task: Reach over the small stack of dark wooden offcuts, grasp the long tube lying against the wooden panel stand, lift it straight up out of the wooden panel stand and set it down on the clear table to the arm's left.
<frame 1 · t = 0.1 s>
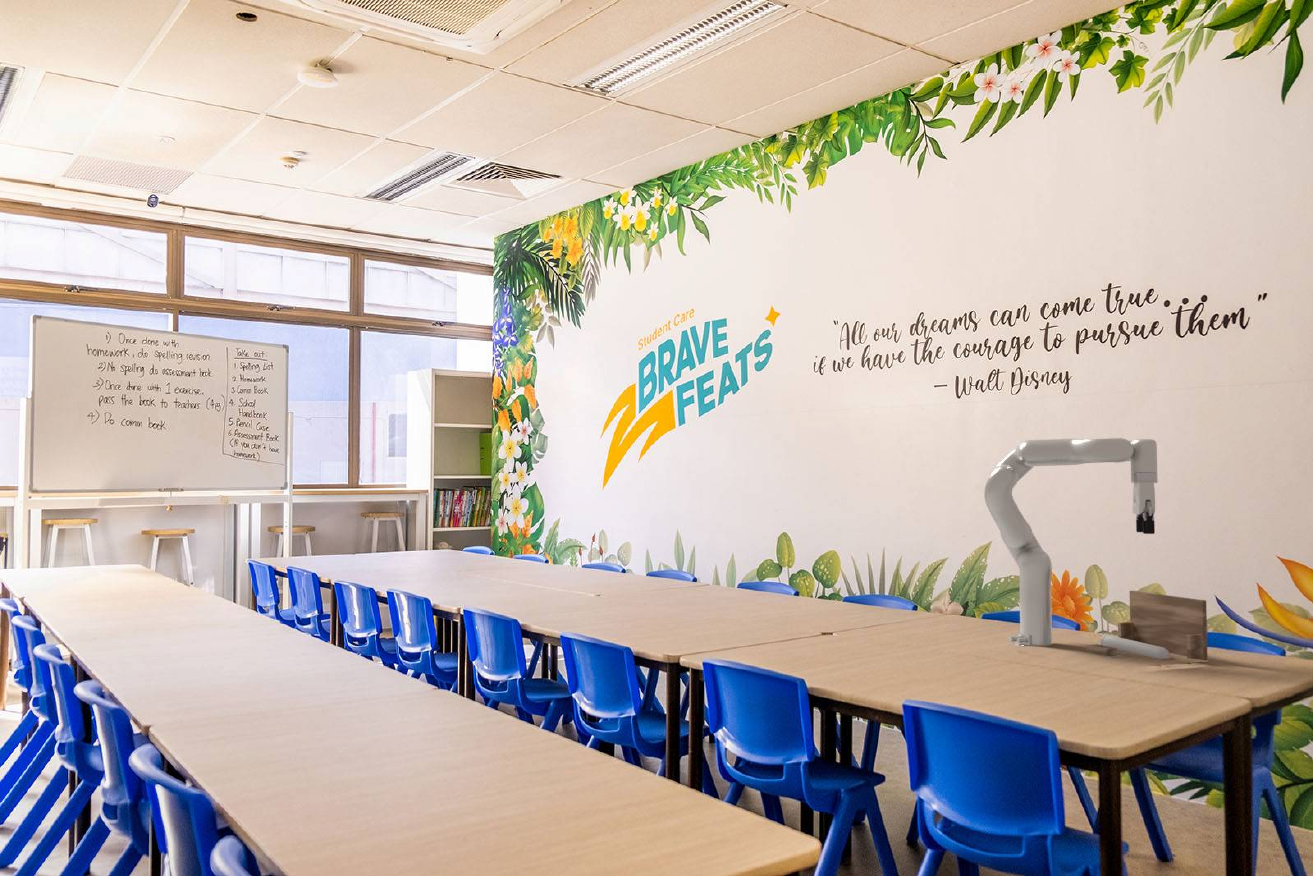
hand: (1145, 533, 316), 37 cm above the table, tool pointing down, fingers open, 9 cm apart
wooden panel stand: (1167, 654, 311), on the table
offcut top: (1102, 653, 304), point 1 cm above the table, touching offcut low
offcut low: (1104, 660, 303), on the table, touching offcut top
tube: (1135, 657, 307), on the table
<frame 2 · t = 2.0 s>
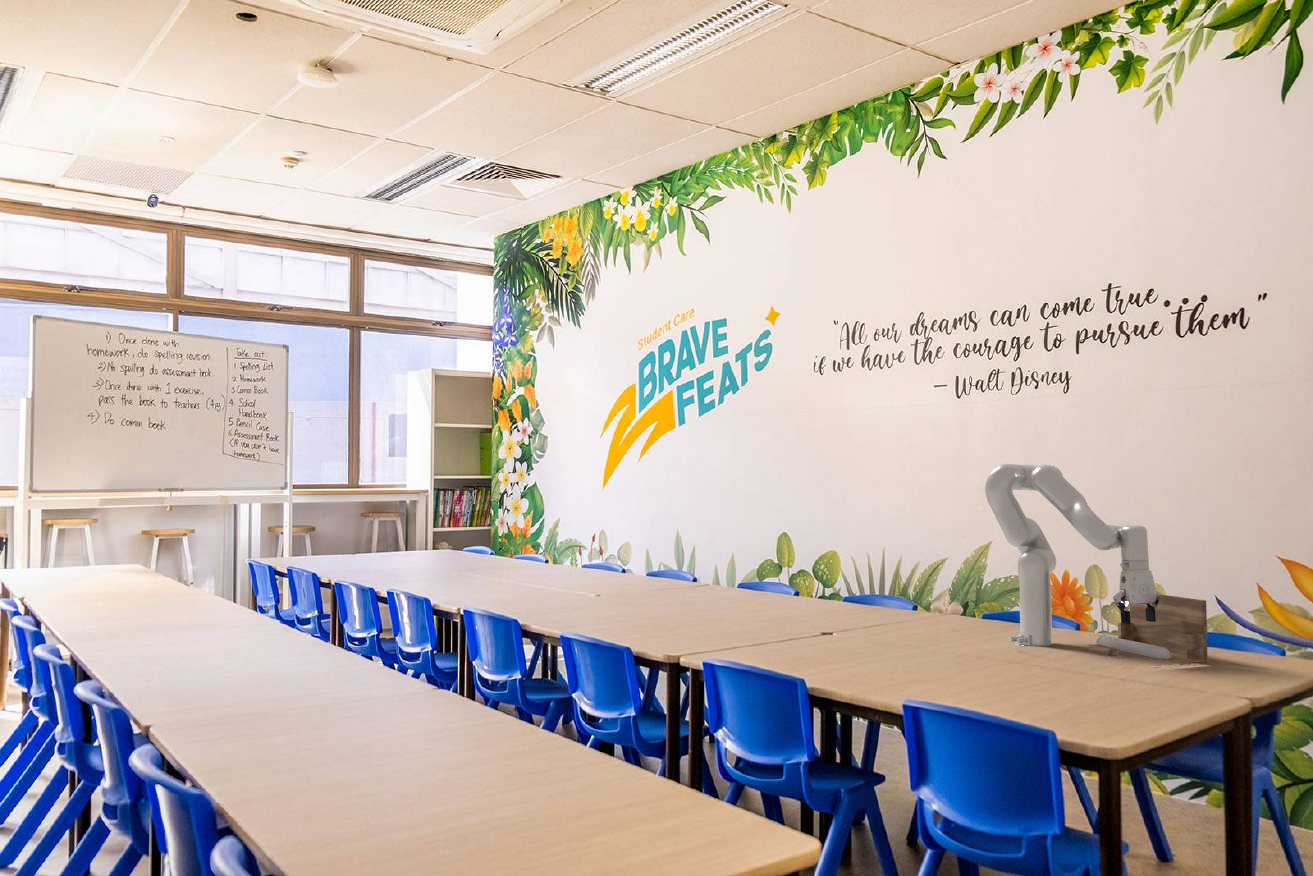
hand: (1138, 622, 307), 10 cm above the table, tool pointing down, fingers open, 9 cm apart
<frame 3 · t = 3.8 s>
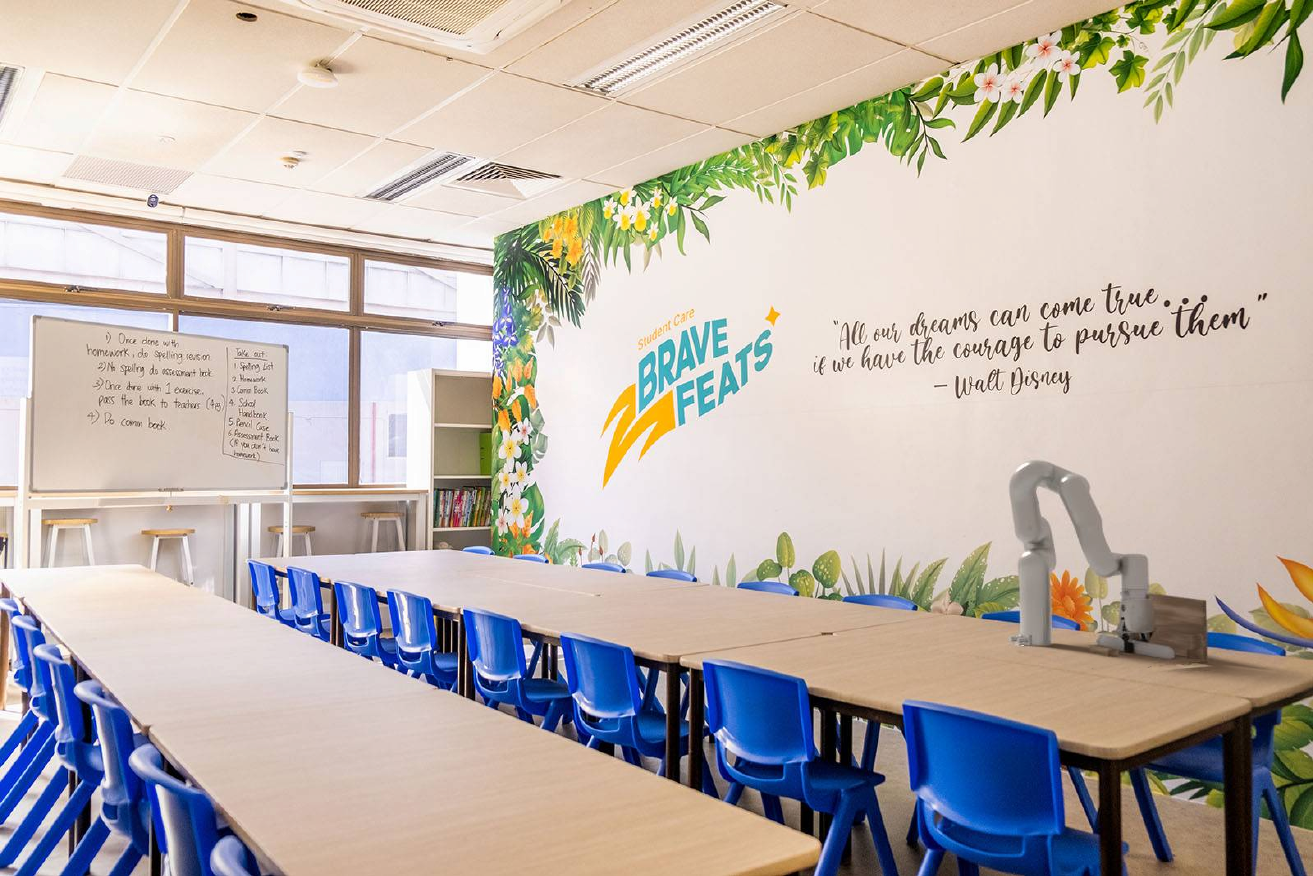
hand: (1136, 653, 307), 1 cm above the table, tool pointing down, fingers closed on tube, 5 cm apart
offcut top: (1104, 653, 303), point 1 cm above the table
offcut low: (1105, 660, 303), on the table
tube: (1136, 657, 307), on the table, touching gripper
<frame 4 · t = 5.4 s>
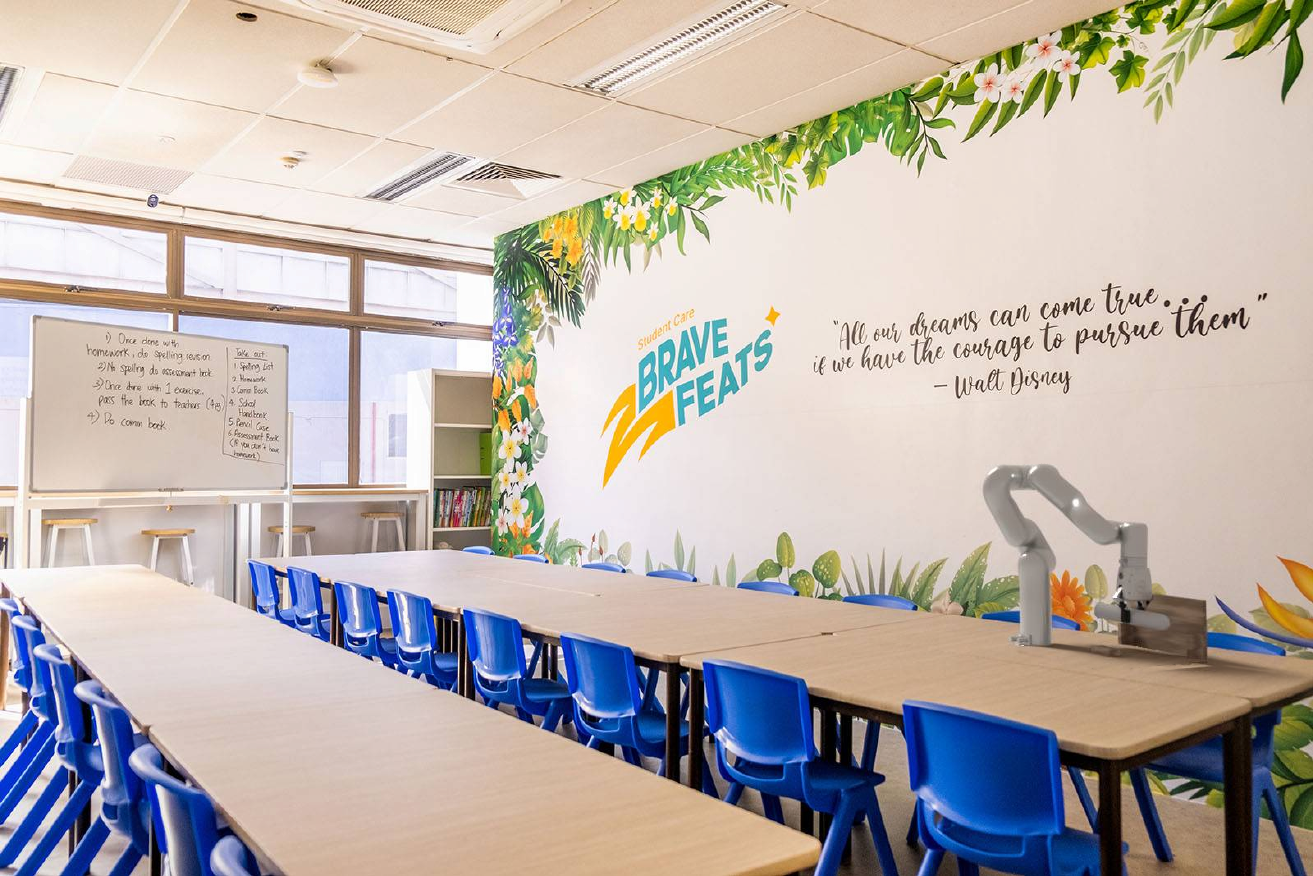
hand: (1132, 621, 308), 10 cm above the table, tool pointing down, fingers closed on tube, 5 cm apart
offcut top: (1105, 654, 303), point 1 cm above the table, touching offcut low
offcut low: (1106, 661, 303), on the table, touching offcut top
tube: (1132, 625, 308), point 9 cm above the table, touching gripper
when the fingers open (2 cm above the table, at t = 11.0 s): tube drops 1 cm, on the table.
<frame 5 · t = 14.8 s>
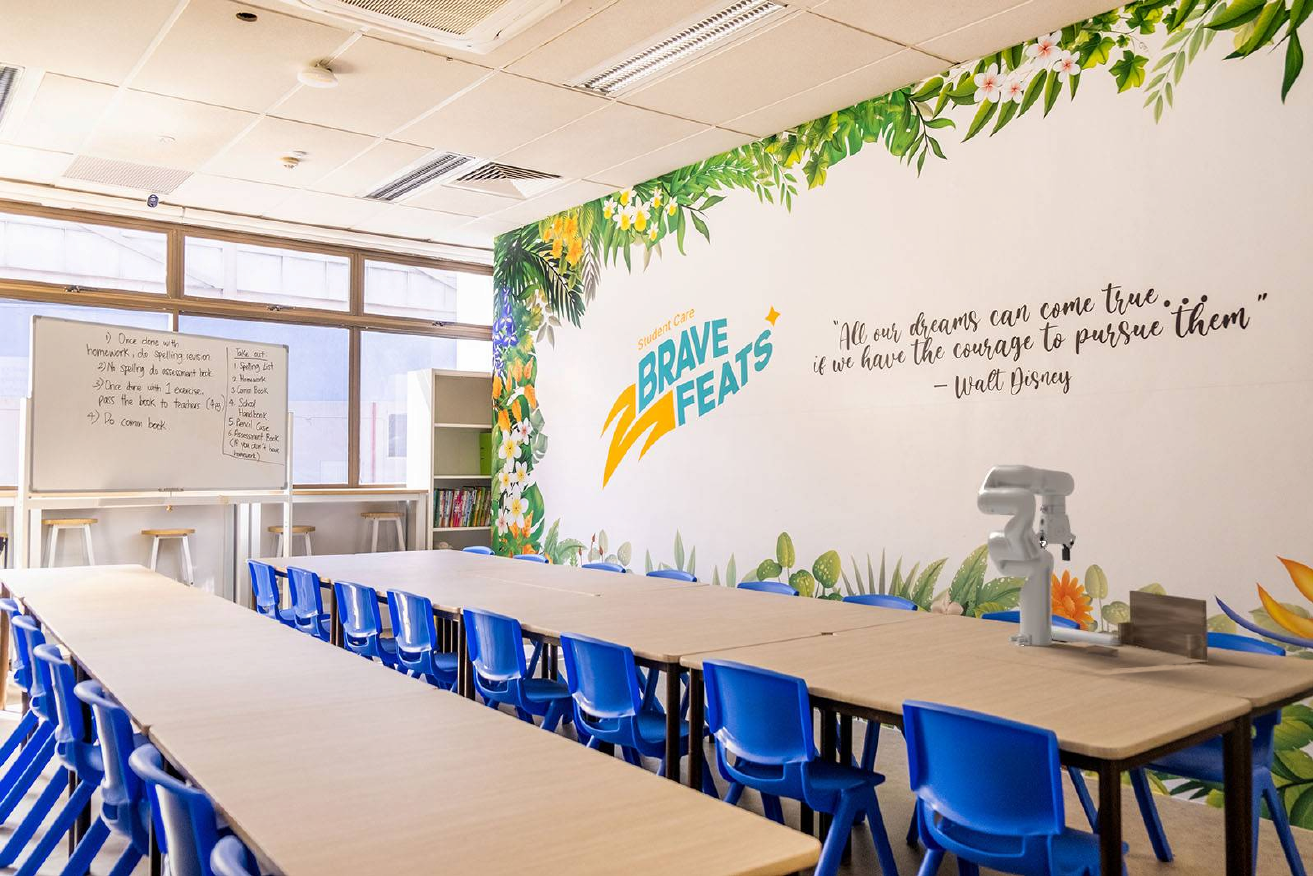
hand: (1054, 561, 341), 26 cm above the table, tool pointing down, fingers open, 9 cm apart
offcut top: (1102, 654, 302), point 1 cm above the table, touching offcut low
offcut low: (1101, 661, 302), on the table, touching offcut top
tube: (1083, 646, 329), on the table
at the end: tube inside the target area (1.3 cm from its centre), on the table; the gripper is holding nothing; offcut top moved 2.1 cm from its start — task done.
